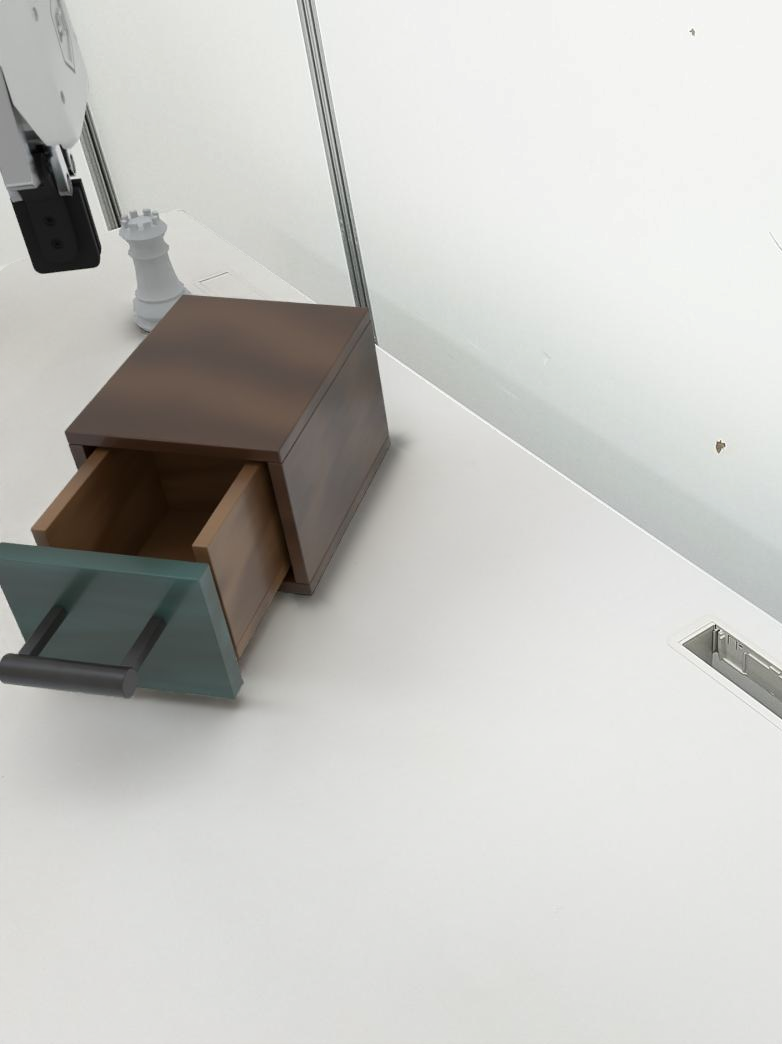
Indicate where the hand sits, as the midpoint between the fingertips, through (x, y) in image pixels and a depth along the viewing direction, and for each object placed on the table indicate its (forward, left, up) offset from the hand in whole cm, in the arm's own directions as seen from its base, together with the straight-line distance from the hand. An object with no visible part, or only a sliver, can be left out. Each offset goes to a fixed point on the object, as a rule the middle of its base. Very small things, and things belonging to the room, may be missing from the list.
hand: (69, 262), depth 65 cm
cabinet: (+6, +2, -16) cm, 17 cm away
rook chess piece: (-9, +22, -16) cm, 28 cm away
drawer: (+6, -10, -15) cm, 19 cm away
